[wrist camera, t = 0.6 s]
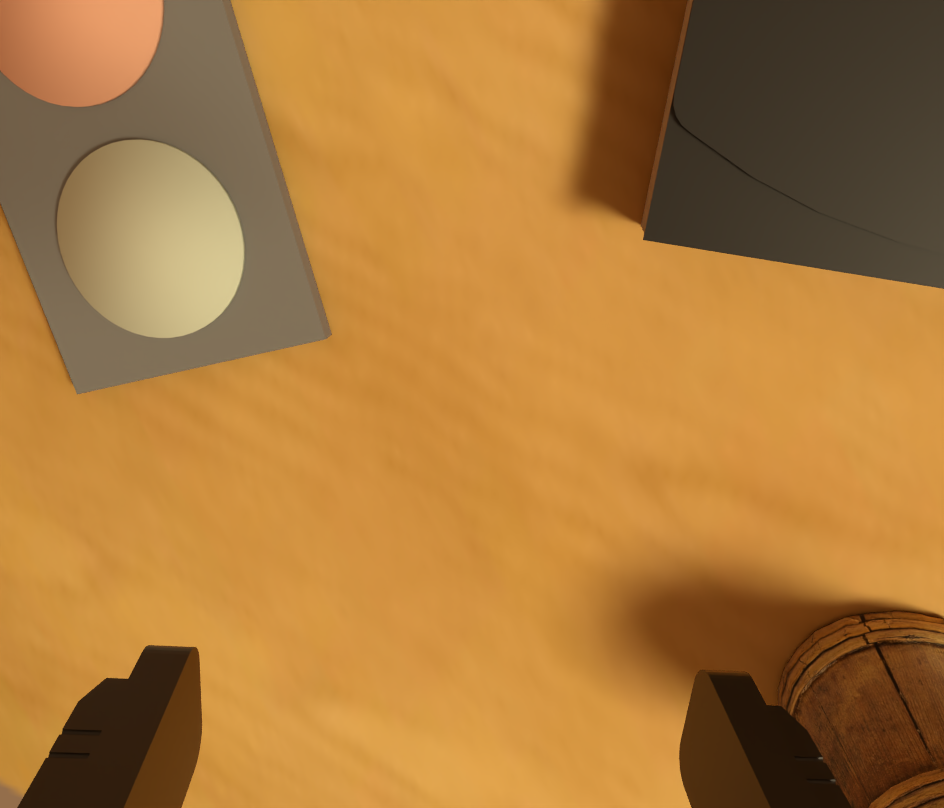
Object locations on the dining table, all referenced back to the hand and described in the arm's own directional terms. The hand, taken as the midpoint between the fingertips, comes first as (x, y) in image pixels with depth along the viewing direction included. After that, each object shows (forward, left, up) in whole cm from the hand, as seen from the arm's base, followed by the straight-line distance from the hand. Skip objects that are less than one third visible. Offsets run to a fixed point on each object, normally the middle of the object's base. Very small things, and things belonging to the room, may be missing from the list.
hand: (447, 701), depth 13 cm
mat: (-18, -14, -22) cm, 31 cm away
